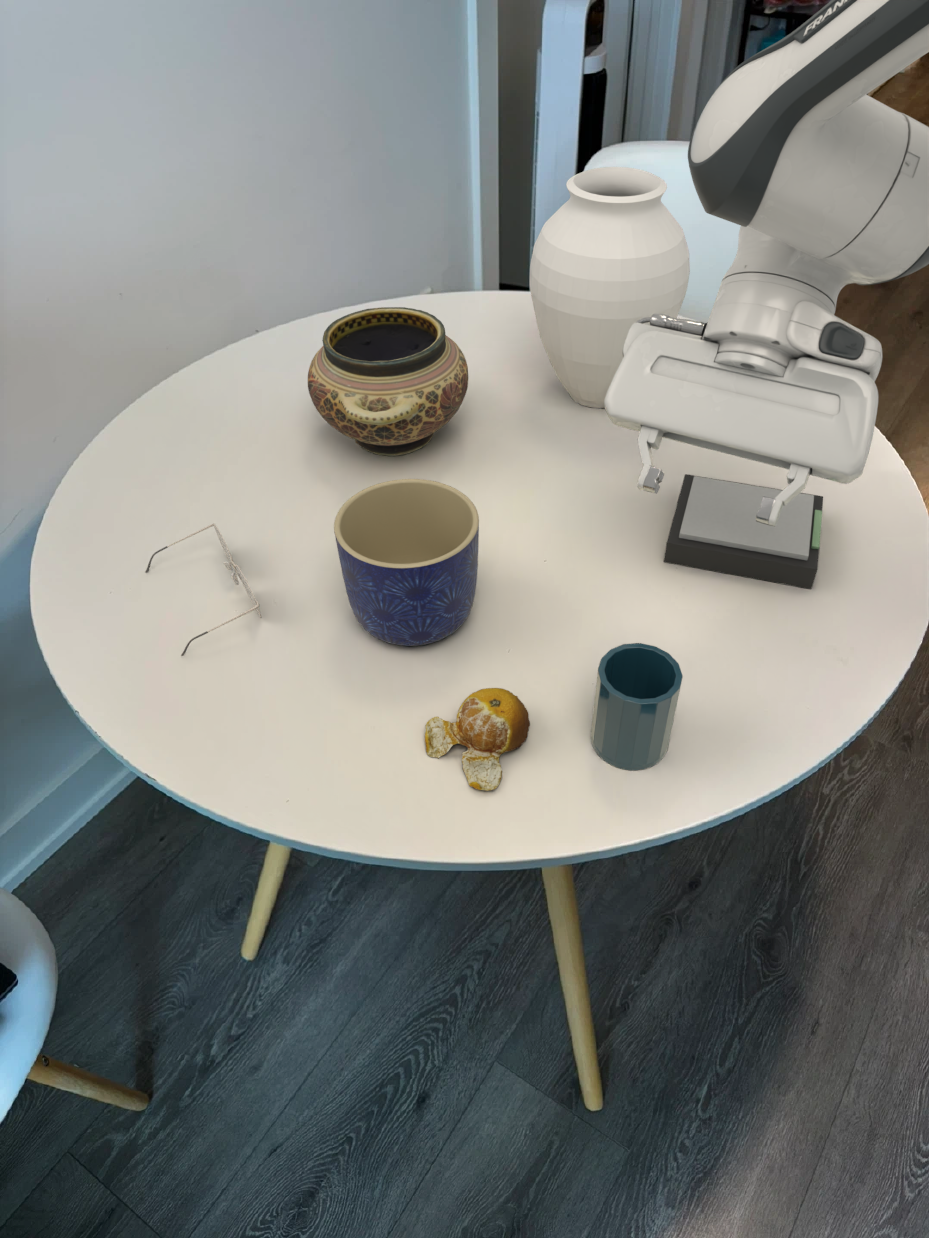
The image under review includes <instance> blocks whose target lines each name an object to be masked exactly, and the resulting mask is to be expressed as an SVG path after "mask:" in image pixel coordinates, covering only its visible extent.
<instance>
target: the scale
mask: <svg viewBox="0 0 929 1238" xmlns="http://www.w3.org/2000/svg"><path fill="white" fill-rule="evenodd" d="M783 490H784V489H781V488H775V487H767V486H762V485H757V484H756V485H755V484H749V483H744V482H736V481H730V480H725V479H718V478H712V477H707V476H700V475H694V474H687V473H685V474H684V476H683V480H682V483H681V488H680V490H679V495H678V499H677V503H676V505H675V509H674V514H673V517H672V520H671V525H670V528H669V533H668V536H667V540H666V544H665V550H664V552H665V553H664V557H663V563H668V564H673V565H678V566H683V567H684V566H685V567H689V568H694V569H700V570H704V571H711V572H716V573H721V574H726V575H730V576H731V575H732V576H736V577H737V576H738V577H743V578H748V579H754V580H758V581H759V580H760V581H764V582H770V583H775V584H781V585H785V586H786V585H787V586H790V587H798V588H801V589H802V588H803V589H807V590H812V588H813V585H814V583H815V580H816V576H817V573H818V568H819V558H820V557H819V556H820V547H821V546H820V544H821V533H822V532H821V531H822V521H823V520H822V519H823V518H822V517H823V507H824V506H823V504H824V496H823V495H819V494H818V495H817V494H811V493H806V492H800V493H799V494H798V495H797V496H796V497H795V498H793V499H792V500H791V501H790V502H789V503H788V504H786V505H785V506H783V507H782V510H781V513H780V516H779V518H778V521H777V524H776V526H775V527H773V526H769V525H766V524H763V523H759V522H756V515H757V512H758V510H759V509H760V508H761V506H760V504H761V501H762V498H763V496H764V497H768V498H772V499H774V498H775V497H776V496H777V495H778V494H779V493H781V492H782V491H783Z"/></svg>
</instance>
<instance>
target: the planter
mask: <svg viewBox="0 0 929 1238" xmlns="http://www.w3.org/2000/svg"><path fill="white" fill-rule="evenodd" d="M479 531H480V516H479V512H478V510H477V507H476V506H475V504H474V503H473V501H472V500H471V499H470V498H469V497H468V496H467V495H466V494H465V493H463V492H462V491H460V490H459V489H457V488H456V487H453V486H452V485H449V484H446V483H443V482H439V481H436V480H435V481H434V480H430V479H423V478H402V479H401V478H400V479H394V480H388V481H383V482H380V483H376V484H374V485H373V484H372V485H371V486H368V487H366V488H364V489H362V490H360V491H358V492H357V493H355V494H354V495H352V496H351V497H350V498H348V499H346V501H345V502H344V503H343V504H342V506H341V507H340V508H339V510H338V511H337V514H336V516H335V518H334V522H333V532H334V537H335V542H336V548H337V552H338V559H339V564H340V568H341V574H342V579H343V583H344V587H345V592H346V595H347V598H348V602H349V605H350V608H351V610H352V613H353V615H354V617H355V619H356V621H357V622H358V623H359V625H360V626H361V627H362V628H363V629H364V630H365V631H366V632H367V633H369V634H370V635H371V636H373V637H374V638H377V639H378V640H380V641H383V642H386V643H389V644H392V645H398V646H405V647H406V646H410V647H412V646H414V647H415V646H423V645H428V644H432V643H436V642H438V641H440V640H443V639H446V638H447V637H449V636H450V635H452V634H453V633H455V631H457V630H458V629H459V628H460V627H461V626H463V624H464V623H465V621H466V620H467V619H468V617H469V615H470V613H471V611H472V608H473V605H474V602H475V597H476V591H477V582H478V567H479V539H480V538H479V537H480V536H479Z"/></svg>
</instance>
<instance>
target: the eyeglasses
mask: <svg viewBox="0 0 929 1238" xmlns="http://www.w3.org/2000/svg"><path fill="white" fill-rule="evenodd" d="M212 527H214V530H215V533H216V535H217V538H218V540H219V543H220V545H221V547H222V550H223V552H224V553H225V556H226V557H227V559H228V561H229V562H228V561H223V565H224V567H225V568H226V569H227V570H228V571H229V572H232V571H234V572H232V573H231V575H230V578H231V580H232V582H233V584H235V585H236V586H240V581H241V584H242V586H243V588H244V590H245V592H246V594H247V596H248V598H249V600H250V602H251V603H252V605H253V606H252V608H250V609H248V610H246V611H244V612H241V613H240V614H238V615H235V616H234V617H232V618H230V619H228V620H226V621H224V622H223V623H221V624H218V625H217V626H215V627H213V628H211V629H209V630H207V631H205V632H202V633H200V634H198V635H196V636H194V637H192V638H191V639H190V640H189V641H188V642H187V644H186V645H185V647H184V650H183V652H182V653H181V655H180V656H181V657H183V656H184V655H186V652H187V650H188V648H189V646H190V644H191V643H192V642H193V641H195V640H196V639H198V638H200V637H203V636H204V635H207V634H208V633H211V632H213V631H214V630H216V629H218V628H220V627H222V626H225V625H227V624H228V623H230V622H233V621H234V620H237V619H239V618H241V617H243V616H246V615H247V614H250V613H251V612H253V611H256V613H257V615H258V616H259V618H260V619H261V618H262V614H261V610H260V604H259V601H258V600H256V597H255V595H254V592H253V590H252V588H251V586H250V584H249V583H248V580H247V578H246V577H245V575H244V572H243V571H242V570H241V568H240V567H239V565H238V564H236V563H235V562H234V559H233V557H232V554H231V552H230V549H229V546H228V545H227V542H226V541H225V538H224V537H223V535H222V532H221V531H220V529H219V528H218V526H217V525H216V523H212V524H209V525H207V526H204V527H203V528H201V529H198V530H197V531H194V532H193V533H191V534H189V535H187V536H184V537H183V538H180V539H179V540H177V541H175V542H173V543H171V544H168V545H166V546H164V547H162V548H160V549H159V550H157V551H155V552H154V553H153V554H152V555H151V557H150V559H149V562H148V564H147V566H146V570H145V571H144V573H147V574H148V573H149V571H150V568H151V564H152V561H153V559H154V557H155V555H157V554H159V553H161V552H162V551H164V550H166V549H169V548H170V547H171V546H174V545H176V544H178V543H180V542H182V541H185V540H186V539H188V538H190V537H193V536H195V535H197V534H199V533H201V532H204V531H205V530H208V529H210V528H212ZM239 580H240V581H239Z"/></svg>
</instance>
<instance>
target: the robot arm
mask: <svg viewBox="0 0 929 1238" xmlns="http://www.w3.org/2000/svg"><path fill="white" fill-rule="evenodd" d="M928 53H929V0H830V1H828V3H826V4H825V5H824V6H823V7H822V8H821V9H820V10H818V11H816V13H814V14H813V15H812V16H811V17H809V18H808V19H807V20H806V21H805V22H802V24H801V25H800V26H798V27H797V28H796V29H794V30H793V31H792V32H790V33H789V34H787V35H786V36H785V37H783V38H782V39H780V40H778V41H775V43H772V44H771V45H769V46H768V47H766V48H764V49H762V50H761V51H759V52H756V53H754V54H753V55H752V56H750V57H748V58H747V59H745V60H744V61H743V62H741V63H739V65H737V66H736V67H735V68H734V69H733V70H732V71H731V72H730V73H728V74H727V76H725V78H724V79H723V80H722V81H721V82H720V84H719V85H718V87H717V88H716V89H715V90H714V92H713V93H712V95H711V96H710V97H709V99H708V100H707V103H706V104H705V106H704V108H703V110H702V111H701V113H700V114H699V117H698V118H697V121H696V124H695V125H694V128H693V130H692V133H691V136H690V139H689V144H688V149H687V163H688V167H689V173H690V176H691V180H692V183H693V186H694V189H695V192H696V194H697V196H698V199H699V201H700V203H701V206H702V208H703V210H704V212H705V213H706V214H709V215H711V216H714V217H716V218H719V219H721V220H725V221H727V222H730V223H732V224H736V225H738V226H740V227H739V231H738V243H737V251H736V253H735V258H734V259H733V261H732V263H731V265H730V266H729V268H728V269H727V270H726V272H725V274H724V275H723V277H722V280H721V282H720V285H719V287H718V291H717V294H716V297H715V300H714V302H713V305H712V309H711V311H710V314H709V317H708V320H707V322H704V321H698V320H693V319H687V318H678V317H677V318H672V317H669V316H668V315H664V314H653V315H652V316H651V317H646V318H642V319H640V320H638V321H637V322H635V323H634V324H633V325H632V326H631V327H630V329H629V331H628V334H627V337H626V340H625V343H624V346H623V350H622V354H623V359H622V361H621V363H620V365H619V367H618V369H617V371H616V373H615V375H614V377H613V379H612V382H611V384H610V386H609V389H608V391H607V394H606V397H605V400H604V407H605V408H604V409H605V412H606V414H607V415H608V416H607V417H608V418H609V419H610V421H611V422H612V423H613V424H614V425H615V426H617V427H620V428H625V429H628V430H632V431H636V432H639V434H638V436H637V439H636V440H637V444H638V449H639V454H640V459H641V460H640V461H641V464H642V468H641V470H640V473H639V476H638V480H637V483H636V487H637V488H638V490H640V491H644V492H648V493H652V494H655V495H657V494H658V493H659V491H660V487H661V486H660V484H661V483H662V482H663V479H664V476H665V473H664V471H663V470H662V468H659V467H655V463H654V458H653V457H654V456H653V453H652V450H656V451H657V450H658V449H660V445H661V443H662V440H663V439H668V440H672V441H675V442H679V443H683V444H687V445H690V446H695V447H699V448H702V449H707V450H709V451H714V452H717V453H723V454H726V455H730V456H734V457H737V458H738V457H739V458H741V459H746V460H750V461H752V462H753V461H754V462H757V463H762V464H765V465H770V466H773V467H777V468H781V469H785V470H788V472H787V475H786V482H787V486H786V487H785V488H784V489H782V490H783V491H782V492H781V493H779V494H778V495H777V496H776V497H775V498H774V499H772V498H768V497H764V496H763V498H762V501H761V504H760V506H761V508H760V509H759V510H758V512H757V515H756V522H759V523H763V524H766V525H769V526H773V527H775V526H776V524H777V521H778V518H779V516H780V513H781V510H782V507H783V506H785V505H786V504H788V503H789V502H790V501H791V500H792V499H793V498H795V497H796V496H797V495H798V494H799V493H803V491H805V489H806V486H807V484H808V482H809V478H810V476H813V477H816V478H819V479H820V478H821V479H823V480H828V481H832V482H835V483H839V484H843V485H847V484H848V485H849V484H851V483H852V482H854V481H856V480H858V479H859V478H860V477H861V476H862V475H863V472H864V470H865V467H866V463H867V460H868V457H869V453H870V451H871V450H870V449H871V446H872V443H873V442H872V441H873V438H874V432H875V426H876V421H877V415H878V407H879V390H878V386H877V384H876V380H877V378H878V376H879V373H880V371H881V368H882V363H883V348H882V343H881V342H880V341H879V339H877V338H876V337H874V336H873V335H871V334H870V333H867V332H865V331H864V330H862V329H860V328H858V327H856V326H854V325H852V324H851V323H849V322H847V321H845V320H843V318H840V317H839V316H837V315H835V313H836V311H837V303H838V302H837V301H838V297H839V294H840V293H841V290H842V289H843V288H845V286H847V285H850V284H851V285H852V284H856V285H859V286H871V285H872V286H873V285H879V284H883V283H887V282H892V281H895V280H899V279H901V278H904V277H907V276H909V275H912V274H913V273H915V272H917V271H920V270H922V269H923V268H925V267H927V266H928V265H929V126H928V125H926V124H925V123H922V122H921V121H920V120H919V121H918V120H917V119H915V118H913V117H912V116H909V115H907V114H905V113H904V112H901V111H898V110H897V109H894V108H892V107H890V106H889V105H886V104H885V103H883V102H881V101H879V100H877V99H875V98H874V97H872V96H870V95H869V93H871V92H872V91H874V90H875V89H876V88H878V87H879V86H881V85H882V84H884V83H886V82H887V81H888V80H890V79H891V78H893V77H894V76H896V75H897V74H898V73H900V72H902V71H903V70H904V69H905V68H907V67H909V66H910V65H911V64H913V63H915V62H916V61H917V60H918V59H921V58H922V57H923V56H925V55H926V54H928ZM648 322H650V325H647V324H644V323H648Z"/></svg>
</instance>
